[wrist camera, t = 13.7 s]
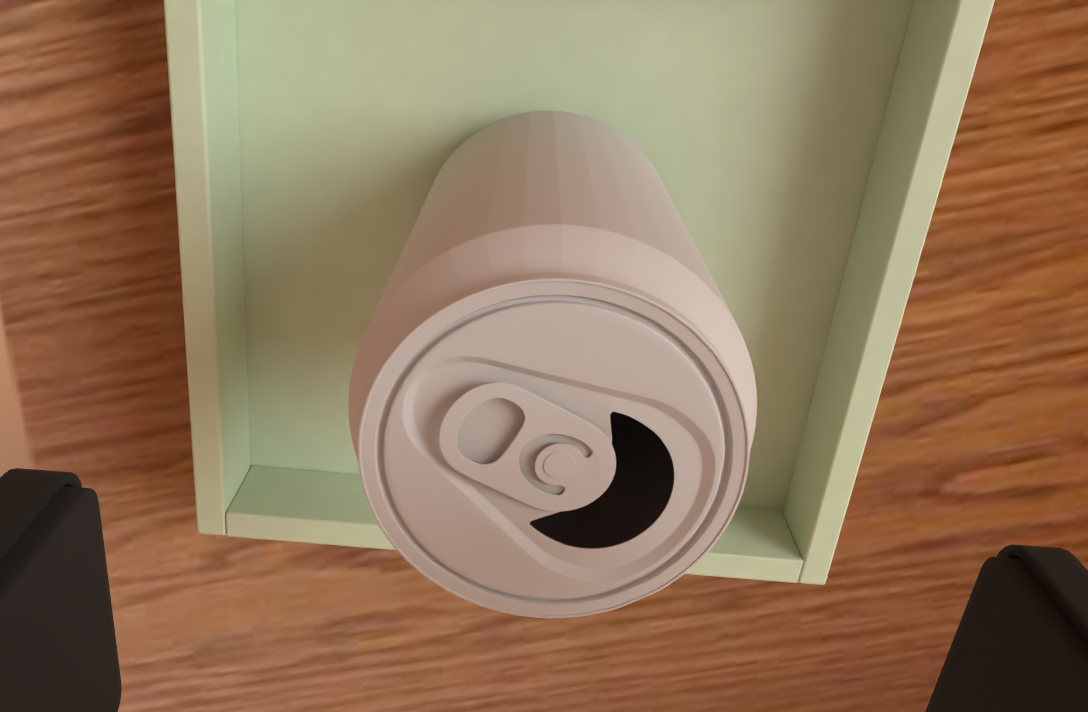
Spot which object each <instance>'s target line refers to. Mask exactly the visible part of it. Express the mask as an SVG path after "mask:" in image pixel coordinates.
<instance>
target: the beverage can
mask: <svg viewBox="0 0 1088 712" xmlns="http://www.w3.org/2000/svg"><path fill="white" fill-rule="evenodd" d="M348 409H349V424H350V432H351V437H352V442H353V447H354V450H355V453H356V456H357V460H358V463H359V472H360V477H361V482H362V487H363V490H364V493H365V496H366V499H367V502H368V504H369V507H370V509H371V511H372V514H373V516H374V518H375V519H376V521H377V523H378V525H379V527H380V528H381V530H382V531H383V533H384V535H385V536H386V538H387V539H388V540H389V542H390V543H391V544H392V545H393V547H394V548H395V549H396V550H397V552H398V553H399V554H400V555H401V556H402V557H403V558H404V559H405V560H406V561H407V562H408V563H409V564H410V565H411V566H413V567H414V568H415V569H416V570H417V571H418V572H419V573H421V574H422V575H423V576H425V577H426V578H427V579H429V580H430V581H431V582H433V583H435V584H436V585H438V586H439V587H441V588H442V589H444V590H446V591H448V592H450V593H451V594H453V595H455V596H457V597H459V598H461V599H463V600H466V601H468V602H471V603H473V604H476V605H479V606H482V607H485V608H488V609H492V610H495V611H499V612H504V613H508V614H513V615H519V616H527V617H537V618H567V617H579V616H586V615H592V614H597V613H602V612H607V611H611V610H614V609H617V608H620V607H622V606H625V605H628V604H630V603H633V602H635V601H637V600H640V599H642V598H644V597H647V596H649V595H651V594H654V593H656V592H658V591H660V590H661V589H663V588H665V587H667V586H668V585H670V584H671V583H672V582H674V581H675V580H677V579H678V578H680V577H681V576H682V575H684V574H685V573H686V572H688V571H689V570H690V569H691V568H692V567H694V566H695V565H696V564H697V563H698V562H699V561H700V560H701V559H702V558H703V557H704V556H705V555H706V554H707V553H708V552H709V551H710V549H711V548H712V547H713V546H714V544H715V543H716V542H717V540H718V539H719V538H720V536H721V535H722V533H723V532H724V531H725V529H726V528H727V526H728V524H729V523H730V521H731V519H732V517H733V515H734V513H735V511H736V509H737V506H738V504H739V502H740V500H741V497H742V494H743V490H744V486H745V482H746V479H747V474H748V468H749V456H750V450H751V446H752V442H753V438H754V433H755V427H756V416H757V389H756V382H755V375H754V370H753V366H752V362H751V359H750V355H749V352H748V349H747V347H746V344H745V342H744V339H743V336H742V334H741V332H740V330H739V328H738V326H737V324H736V322H735V320H734V318H733V316H732V314H731V313H730V311H729V309H728V307H727V305H726V303H725V301H724V299H723V297H722V295H721V293H720V291H719V289H718V288H717V286H716V284H715V282H714V280H713V278H712V276H711V274H710V272H709V270H708V268H707V266H706V264H705V263H704V261H703V259H702V257H701V255H700V253H699V251H698V249H697V247H696V245H695V243H694V241H693V239H692V238H691V236H690V234H689V232H688V230H687V228H686V226H685V224H684V222H683V220H682V218H681V216H680V214H679V213H678V211H677V209H676V207H675V205H674V203H673V201H672V199H671V197H670V195H669V193H668V191H667V189H666V188H665V186H664V184H663V182H662V180H661V178H660V176H659V174H658V173H657V171H656V169H655V168H654V166H653V164H652V163H651V161H650V160H649V159H648V158H647V157H646V155H645V154H644V153H643V152H642V151H641V150H640V149H639V148H638V147H637V146H636V145H635V144H634V143H633V142H632V141H631V140H629V139H628V138H627V137H626V136H624V135H623V134H622V133H620V132H619V131H617V130H616V129H614V128H612V127H610V126H608V125H606V124H604V123H602V122H600V121H598V120H595V119H592V118H590V117H587V116H583V115H579V114H576V113H570V112H564V111H534V112H527V113H521V114H517V115H513V116H510V117H507V118H504V119H501V120H499V121H496V122H494V123H492V124H490V125H488V126H486V127H485V128H483V129H481V130H480V131H478V132H476V133H475V134H474V135H472V136H471V137H469V138H468V139H467V140H466V141H464V142H463V143H462V144H461V145H460V146H459V147H458V148H457V149H456V150H455V151H454V152H453V153H452V154H451V156H450V157H449V158H448V159H447V161H446V162H445V164H444V165H443V166H442V168H441V169H440V171H439V172H438V174H437V176H436V178H435V180H434V183H433V185H432V187H431V189H430V191H429V194H428V196H427V198H426V200H425V202H424V205H423V207H422V209H421V211H420V213H419V216H418V218H417V220H416V222H415V224H414V227H413V229H412V231H411V233H410V235H409V238H408V240H407V242H406V244H405V246H404V249H403V251H402V253H401V255H400V257H399V260H398V262H397V264H396V266H395V269H394V271H393V273H392V275H391V277H390V280H389V282H388V284H387V286H386V288H385V291H384V293H383V295H382V297H381V299H380V302H379V304H378V306H377V308H376V310H375V313H374V315H373V317H372V319H371V321H370V324H369V326H368V328H367V330H366V332H365V335H364V337H363V339H362V341H361V344H360V346H359V348H358V351H357V354H356V358H355V361H354V365H353V369H352V373H351V378H350V385H349V398H348Z"/></svg>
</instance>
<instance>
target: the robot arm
mask: <svg viewBox="0 0 1088 712" xmlns="http://www.w3.org/2000/svg"><path fill="white" fill-rule="evenodd" d="M120 699H121V678H120V670H119V662H118V654H117V646H116V638H115V630H114V622H113V614H112V606H111V598H110V590H109V582H108V574H107V566H106V558H105V550H104V542H103V534H102V526H101V518H100V510H99V502H98V498H97V494H96V493H95V491H94V490H92V489H91V488H82V486H81V482H80V480H79V478H78V477H77V475H75V474H73V473H71V472H59V471H46V470H32V469H19V468H16V469H11V470H9V471H8V472H6V473H5V474H4V475H3V476H2V477H1V478H0V712H118V708H119V704H120ZM926 712H1088V571H1087V569H1086V568H1085V567H1084V566H1083V565H1082V564H1081V563H1080V561H1079V560H1078V559H1077V558H1076V557H1075V556H1074V555H1073V554H1072V553H1070V552H1069V551H1068V550H1064V549H1061V548H1050V547H1037V546H1024V545H1009V546H1006V547H1004V548H1003V549H1002V550H1001V551H1000V552H999V554H998V556H997V557H991V558H989V559H988V560H986V561H985V562H984V564H983V566H982V568H981V570H980V573H979V575H978V578H977V581H976V583H975V586H974V588H973V591H972V594H971V596H970V599H969V601H968V604H967V606H966V609H965V612H964V614H963V617H962V619H961V622H960V624H959V627H958V630H957V632H956V635H955V637H954V640H953V642H952V645H951V648H950V650H949V653H948V655H947V658H946V660H945V663H944V666H943V668H942V671H941V673H940V676H939V678H938V681H937V684H936V686H935V689H934V691H933V694H932V696H931V699H930V702H929V704H928V707H927V709H926Z"/></svg>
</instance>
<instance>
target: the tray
mask: <svg viewBox="0 0 1088 712" xmlns="http://www.w3.org/2000/svg"><path fill="white" fill-rule="evenodd" d="M994 1H995V0H164V13H165V29H166V45H167V60H168V76H169V92H170V107H171V123H172V139H173V155H174V170H175V186H176V202H177V217H178V233H179V249H180V264H181V280H182V296H183V311H184V327H185V343H186V358H187V374H188V390H189V405H190V421H191V437H192V452H193V468H194V484H195V500H196V515H197V530H198V533H200V534H211V535H226V533H227V536H230V537H242V538H254V539H266V540H279V541H291V542H303V543H315V544H327V545H340V546H352V547H364V548H376V549H388V550H396V549H395V548H394V547H393V545H392V544H391V543H390V542H389V540H388V539H387V538H386V536H385V535H384V533H383V531H382V530H381V528H380V527H379V525H378V523H377V521H376V519H375V518H374V516H373V514H372V511H371V509H370V507H369V504H368V502H367V499H366V496H365V493H364V490H363V487H362V482H361V477H360V472H359V463H358V460H357V456H356V453H355V450H354V447H353V442H352V437H351V432H350V424H349V409H348V398H349V385H350V378H351V373H352V369H353V365H354V361H355V358H356V354H357V351H358V348H359V346H360V344H361V341H362V339H363V337H364V335H365V332H366V330H367V328H368V326H369V324H370V321H371V319H372V317H373V315H374V313H375V310H376V308H377V306H378V304H379V302H380V299H381V297H382V295H383V293H384V291H385V288H386V286H387V284H388V282H389V280H390V277H391V275H392V273H393V271H394V269H395V266H396V264H397V262H398V260H399V257H400V255H401V253H402V251H403V249H404V246H405V244H406V242H407V240H408V238H409V235H410V233H411V231H412V229H413V227H414V224H415V222H416V220H417V218H418V216H419V213H420V211H421V209H422V207H423V205H424V202H425V200H426V198H427V196H428V194H429V191H430V189H431V187H432V185H433V183H434V180H435V178H436V176H437V174H438V172H439V171H440V169H441V168H442V166H443V165H444V164H445V162H446V161H447V159H448V158H449V157H450V156H451V154H452V153H453V152H454V151H455V150H456V149H457V148H458V147H459V146H460V145H461V144H462V143H463V142H464V141H466V140H467V139H468V138H469V137H471V136H472V135H474V134H475V133H476V132H478V131H480V130H481V129H483V128H485V127H486V126H488V125H490V124H492V123H494V122H496V121H499V120H501V119H504V118H507V117H510V116H513V115H517V114H521V113H527V112H534V111H564V112H570V113H576V114H579V115H583V116H587V117H590V118H592V119H595V120H598V121H600V122H602V123H604V124H606V125H608V126H610V127H612V128H614V129H616V130H617V131H619V132H620V133H622V134H623V135H624V136H626V137H627V138H628V139H629V140H631V141H632V142H633V143H634V144H635V145H636V146H637V147H638V148H639V149H640V150H641V151H642V152H643V153H644V154H645V155H646V157H647V158H648V159H649V160H650V161H651V163H652V164H653V166H654V168H655V169H656V171H657V173H658V174H659V176H660V178H661V180H662V182H663V184H664V186H665V188H666V189H667V191H668V193H669V195H670V197H671V199H672V201H673V203H674V205H675V207H676V209H677V211H678V213H679V214H680V216H681V218H682V220H683V222H684V224H685V226H686V228H687V230H688V232H689V234H690V236H691V238H692V239H693V241H694V243H695V245H696V247H697V249H698V251H699V253H700V255H701V257H702V259H703V261H704V263H705V264H706V266H707V268H708V270H709V272H710V274H711V276H712V278H713V280H714V282H715V284H716V286H717V288H718V289H719V291H720V293H721V295H722V297H723V299H724V301H725V303H726V305H727V307H728V309H729V311H730V313H731V314H732V316H733V318H734V320H735V322H736V324H737V326H738V328H739V330H740V332H741V334H742V336H743V339H744V342H745V344H746V347H747V349H748V352H749V355H750V359H751V362H752V366H753V370H754V375H755V382H756V389H757V416H756V427H755V433H754V438H753V442H752V446H751V450H750V456H749V468H748V474H747V479H746V482H745V486H744V490H743V494H742V497H741V500H740V502H739V504H738V506H737V509H736V511H735V513H734V515H733V517H732V519H731V521H730V523H729V524H728V526H727V528H726V529H725V531H724V532H723V533H722V535H721V536H720V538H719V539H718V540H717V542H716V543H715V544H714V546H713V547H712V548H711V549H710V551H709V552H708V553H707V554H706V555H705V556H704V557H703V558H702V559H701V560H700V561H699V562H698V563H697V564H696V565H695V566H694V567H692V568H691V569H690V570H689V571H688V572H686V573H685V574H693V575H706V576H718V577H730V578H742V579H754V580H766V581H779V582H791V583H797V582H800V583H806V584H819V585H824V584H825V582H826V579H827V575H828V572H829V568H830V565H831V561H832V558H833V555H834V551H835V548H836V544H837V541H838V537H839V534H840V530H841V527H842V524H843V520H844V517H845V513H846V510H847V506H848V503H849V499H850V496H851V493H852V489H853V486H854V482H855V479H856V475H857V472H858V469H859V465H860V462H861V458H862V455H863V451H864V448H865V444H866V441H867V438H868V434H869V431H870V427H871V424H872V420H873V417H874V414H875V410H876V407H877V403H878V400H879V396H880V393H881V389H882V386H883V383H884V379H885V376H886V372H887V369H888V365H889V362H890V358H891V355H892V352H893V348H894V345H895V341H896V338H897V334H898V331H899V328H900V324H901V321H902V317H903V314H904V310H905V307H906V303H907V300H908V297H909V293H910V290H911V286H912V283H913V279H914V276H915V273H916V269H917V266H918V262H919V259H920V255H921V252H922V248H923V245H924V242H925V238H926V235H927V231H928V228H929V224H930V221H931V217H932V214H933V211H934V207H935V204H936V200H937V197H938V193H939V190H940V187H941V183H942V180H943V176H944V173H945V169H946V166H947V162H948V159H949V156H950V152H951V149H952V145H953V142H954V138H955V135H956V132H957V128H958V125H959V121H960V118H961V114H962V111H963V107H964V104H965V101H966V97H967V94H968V90H969V87H970V83H971V80H972V77H973V73H974V70H975V66H976V63H977V59H978V56H979V52H980V49H981V46H982V42H983V39H984V35H985V32H986V28H987V25H988V21H989V18H990V15H991V11H992V8H993V4H994Z"/></svg>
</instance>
